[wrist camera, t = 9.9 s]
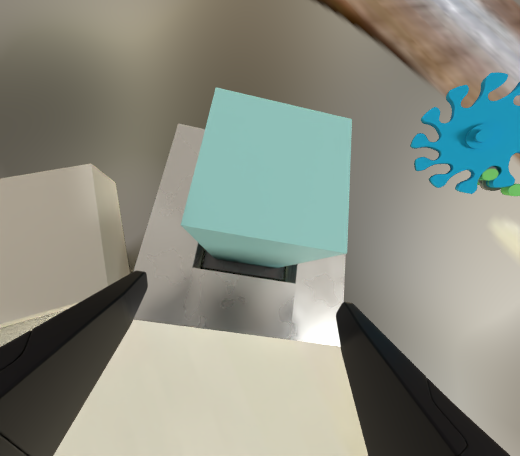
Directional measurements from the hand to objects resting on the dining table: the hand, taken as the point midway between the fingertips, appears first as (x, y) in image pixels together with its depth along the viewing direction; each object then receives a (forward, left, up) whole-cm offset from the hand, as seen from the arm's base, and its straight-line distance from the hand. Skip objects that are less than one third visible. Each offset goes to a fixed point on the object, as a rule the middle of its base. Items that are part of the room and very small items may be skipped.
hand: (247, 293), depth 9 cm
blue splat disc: (+22, -11, -8) cm, 26 cm away
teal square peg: (+4, +2, -7) cm, 8 cm away
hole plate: (+4, +2, -7) cm, 8 cm away
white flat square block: (-5, +13, -7) cm, 16 cm away
